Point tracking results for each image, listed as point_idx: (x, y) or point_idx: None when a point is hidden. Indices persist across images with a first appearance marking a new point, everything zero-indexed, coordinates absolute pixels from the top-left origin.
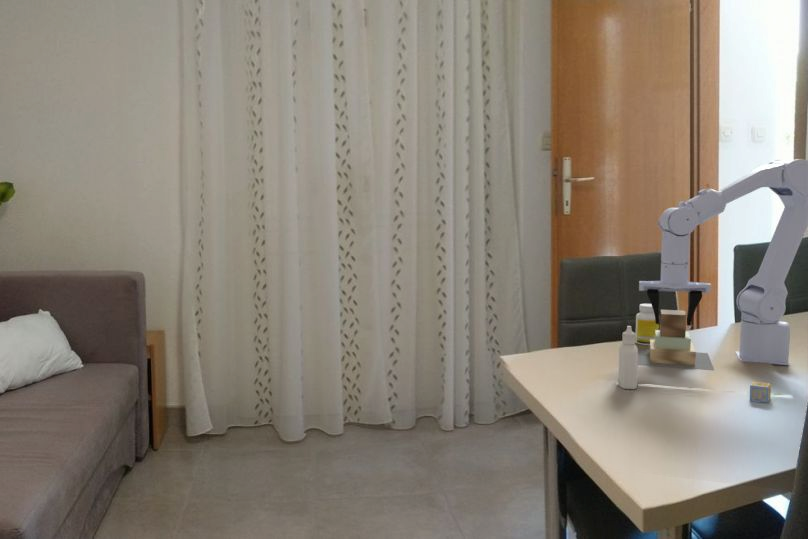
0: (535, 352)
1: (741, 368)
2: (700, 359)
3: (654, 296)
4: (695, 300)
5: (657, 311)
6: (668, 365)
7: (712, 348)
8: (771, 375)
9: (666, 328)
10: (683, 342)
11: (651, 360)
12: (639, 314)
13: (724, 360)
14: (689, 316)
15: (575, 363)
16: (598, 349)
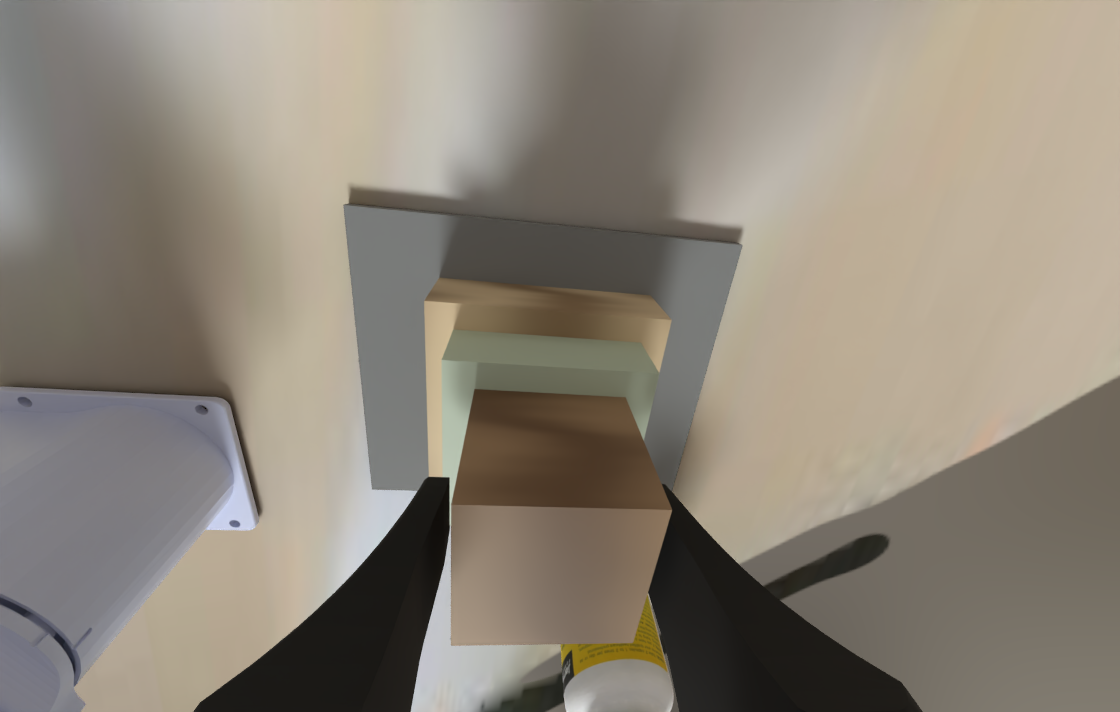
0: (1077, 394)
1: (216, 306)
2: (407, 388)
3: (847, 696)
4: (296, 677)
5: (699, 551)
6: (572, 254)
7: (354, 570)
8: (45, 198)
9: (601, 428)
10: (489, 351)
11: (648, 297)
12: (666, 701)
13: (303, 422)
14: (422, 523)
15: (990, 252)
16: (802, 479)
